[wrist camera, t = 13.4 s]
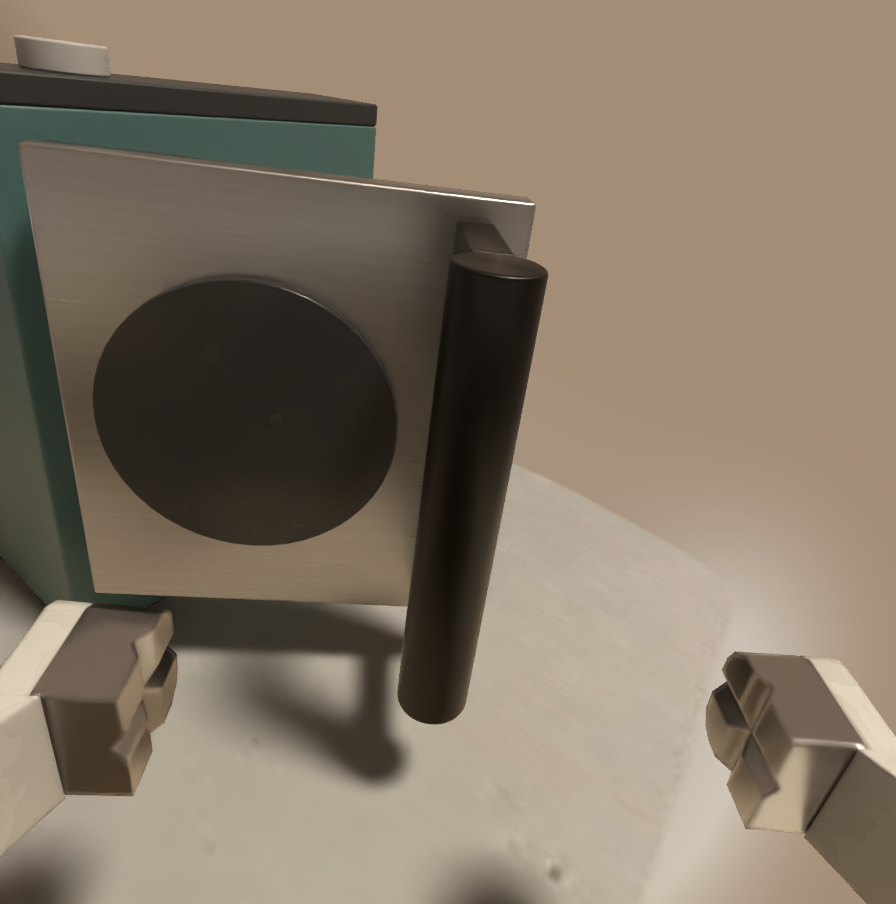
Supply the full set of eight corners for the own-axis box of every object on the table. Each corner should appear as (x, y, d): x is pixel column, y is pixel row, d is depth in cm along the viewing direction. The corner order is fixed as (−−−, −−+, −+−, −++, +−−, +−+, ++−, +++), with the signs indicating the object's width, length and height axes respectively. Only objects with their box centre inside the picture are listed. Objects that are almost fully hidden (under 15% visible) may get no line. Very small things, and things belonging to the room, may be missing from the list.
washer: (353, 503, 27) (379, 82, 20) (79, 641, 19) (-42, 28, 12) (196, 409, 33) (173, 52, 26) (-66, 486, 25) (-209, 1, 18)
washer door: (483, 742, 15) (591, 250, 10) (12, 732, 14) (-150, 168, 9) (462, 591, 20) (530, 197, 14) (104, 574, 18) (34, 137, 13)
